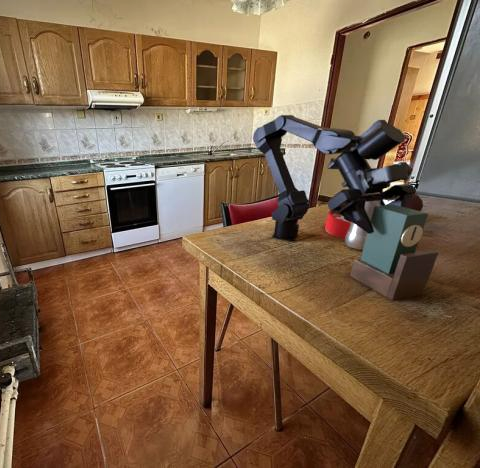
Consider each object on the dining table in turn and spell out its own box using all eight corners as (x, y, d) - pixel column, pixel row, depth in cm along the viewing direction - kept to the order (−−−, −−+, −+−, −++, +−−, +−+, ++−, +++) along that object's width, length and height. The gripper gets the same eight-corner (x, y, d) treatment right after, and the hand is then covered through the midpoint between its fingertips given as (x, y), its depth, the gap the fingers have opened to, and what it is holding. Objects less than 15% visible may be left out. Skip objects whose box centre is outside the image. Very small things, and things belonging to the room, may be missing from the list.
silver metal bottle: (362, 254, 73) (381, 184, 66) (338, 246, 78) (353, 180, 71) (375, 249, 76) (394, 181, 68) (350, 241, 81) (366, 178, 74)
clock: (360, 259, 61) (374, 206, 56) (378, 257, 62) (393, 204, 57) (390, 275, 54) (409, 216, 49) (410, 272, 55) (431, 214, 50)
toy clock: (332, 205, 99) (399, 213, 88) (329, 220, 101) (395, 229, 90) (324, 219, 84) (404, 230, 73) (320, 235, 87) (398, 249, 75)
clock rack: (349, 276, 62) (359, 238, 59) (376, 271, 64) (387, 234, 60) (392, 300, 53) (407, 257, 50) (422, 294, 55) (439, 252, 51)
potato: (373, 217, 102) (380, 192, 98) (391, 212, 107) (399, 188, 103) (406, 225, 93) (415, 197, 89) (425, 219, 98) (435, 193, 94)
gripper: (349, 151, 53) (387, 217, 47) (420, 147, 57) (464, 208, 51) (315, 182, 63) (342, 240, 57) (377, 177, 67) (409, 232, 61)
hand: (389, 230), depth 56 cm, fingers open, 9 cm apart
